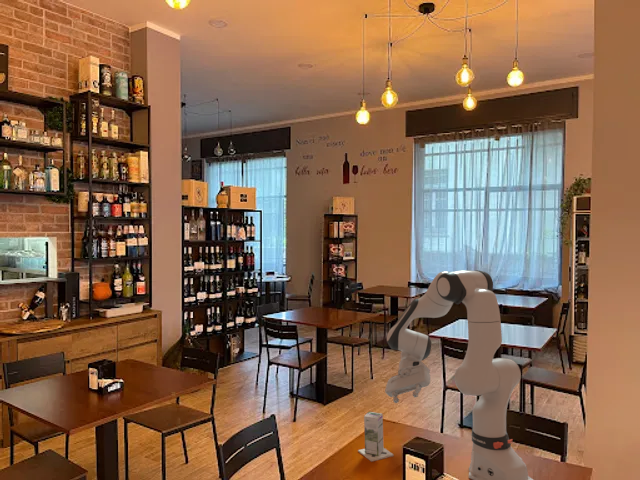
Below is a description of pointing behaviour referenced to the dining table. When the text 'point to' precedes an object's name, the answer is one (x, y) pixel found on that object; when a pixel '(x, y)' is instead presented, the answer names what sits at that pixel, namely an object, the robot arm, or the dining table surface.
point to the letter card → (374, 457)
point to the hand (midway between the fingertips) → (405, 399)
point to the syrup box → (373, 433)
